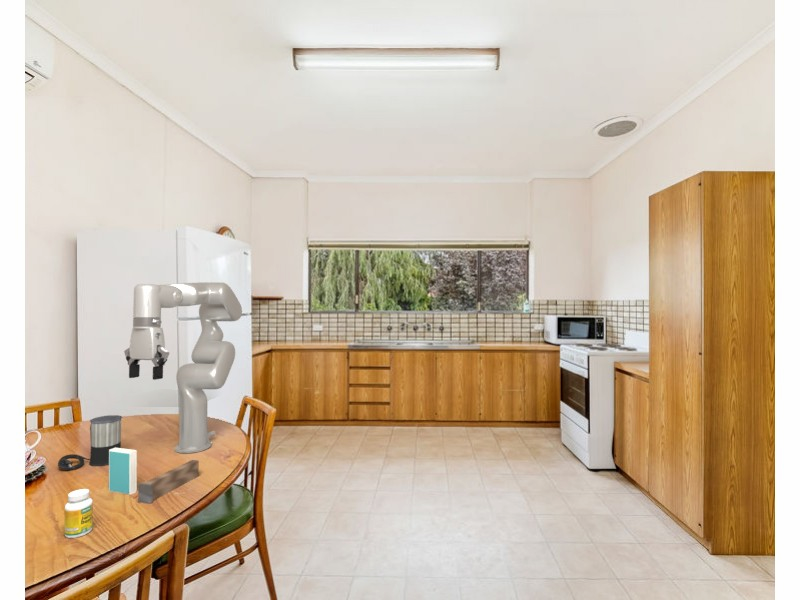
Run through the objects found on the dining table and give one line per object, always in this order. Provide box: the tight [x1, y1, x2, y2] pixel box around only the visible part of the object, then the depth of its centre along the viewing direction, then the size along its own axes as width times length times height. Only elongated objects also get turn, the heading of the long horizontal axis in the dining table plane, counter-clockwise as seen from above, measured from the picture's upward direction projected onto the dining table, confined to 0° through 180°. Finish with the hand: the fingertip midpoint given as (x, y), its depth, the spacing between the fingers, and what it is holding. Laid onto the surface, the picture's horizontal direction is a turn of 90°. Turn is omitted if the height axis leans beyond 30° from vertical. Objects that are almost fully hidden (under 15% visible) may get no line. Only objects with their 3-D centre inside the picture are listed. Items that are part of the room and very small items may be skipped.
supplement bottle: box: [64, 488, 94, 539], centre depth 101 cm, size 5×5×10 cm
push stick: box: [137, 459, 200, 505], centre depth 125 cm, size 19×4×5 cm, turn 163°
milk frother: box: [57, 414, 123, 471], centre depth 144 cm, size 14×16×15 cm
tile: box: [108, 447, 138, 495], centre depth 123 cm, size 2×8×12 cm, turn 73°
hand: (145, 378), depth 133 cm, fingers open, 9 cm apart
